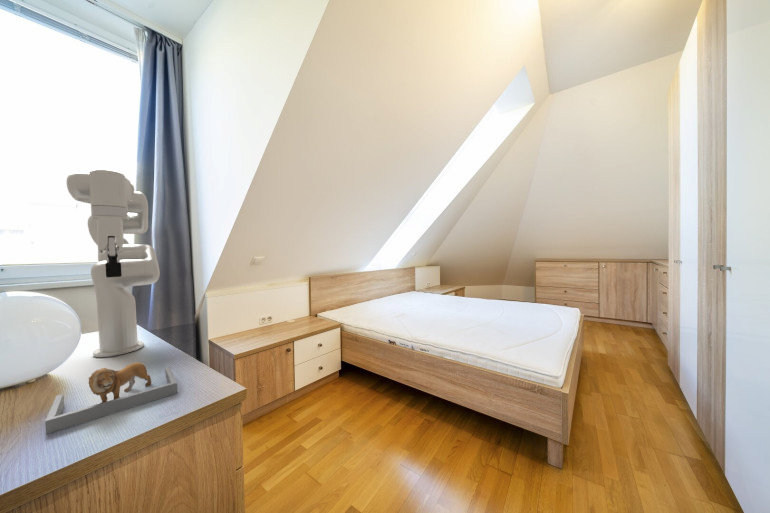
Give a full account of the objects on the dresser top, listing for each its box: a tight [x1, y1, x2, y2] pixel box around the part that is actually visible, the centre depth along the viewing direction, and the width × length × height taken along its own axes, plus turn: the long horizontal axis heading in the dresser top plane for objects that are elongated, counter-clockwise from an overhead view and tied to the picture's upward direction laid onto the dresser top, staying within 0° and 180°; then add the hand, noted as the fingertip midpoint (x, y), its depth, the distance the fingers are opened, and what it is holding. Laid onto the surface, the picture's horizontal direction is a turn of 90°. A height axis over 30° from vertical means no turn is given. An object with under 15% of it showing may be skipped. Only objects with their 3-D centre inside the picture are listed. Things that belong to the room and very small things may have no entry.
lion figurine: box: [88, 361, 152, 403], centre depth 65 cm, size 15×5×9 cm, turn 7°
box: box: [44, 366, 178, 435], centre depth 63 cm, size 13×20×2 cm, turn 134°
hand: (114, 276), depth 80 cm, fingers closed
